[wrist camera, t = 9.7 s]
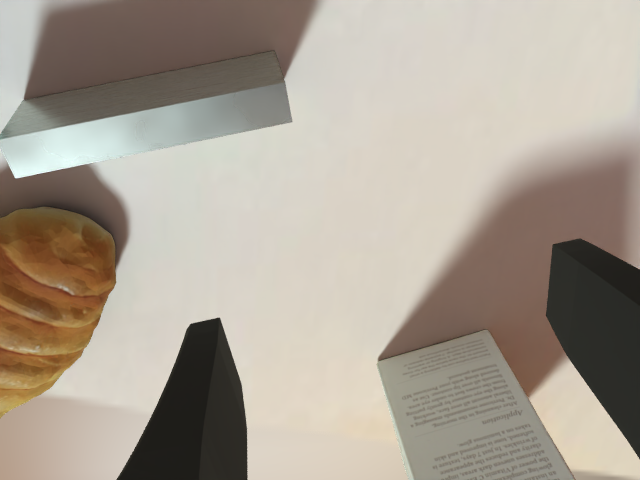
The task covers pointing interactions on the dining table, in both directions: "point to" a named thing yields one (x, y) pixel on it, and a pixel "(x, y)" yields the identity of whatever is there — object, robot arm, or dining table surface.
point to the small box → (466, 415)
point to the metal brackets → (145, 114)
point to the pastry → (48, 296)
